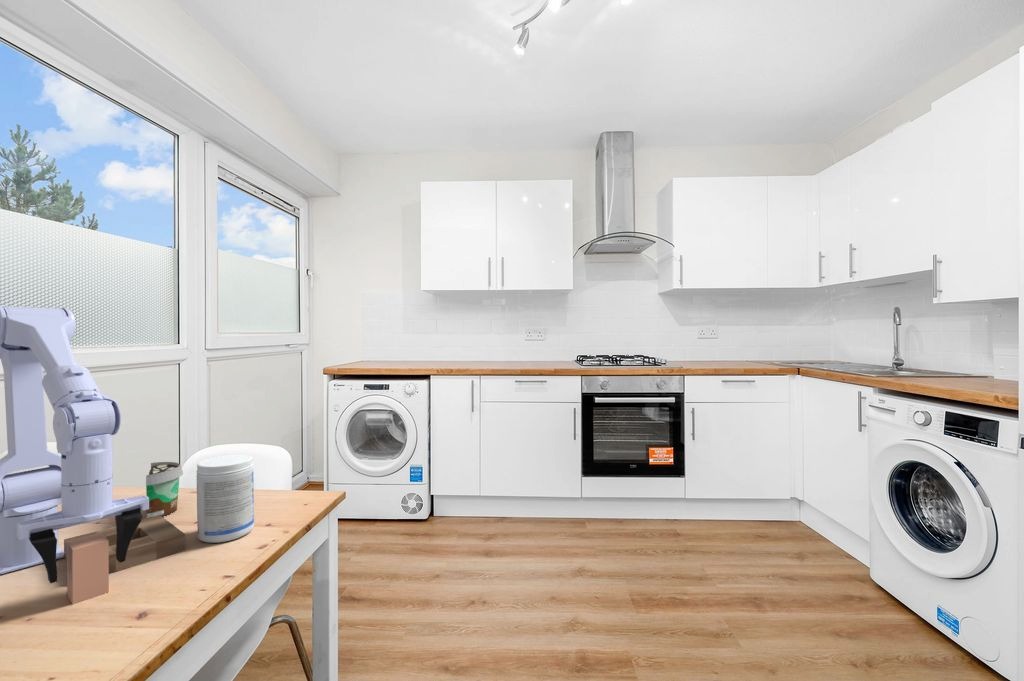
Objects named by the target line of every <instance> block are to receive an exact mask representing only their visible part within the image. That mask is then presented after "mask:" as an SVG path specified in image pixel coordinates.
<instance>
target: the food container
mask: <svg viewBox="0 0 1024 681" xmlns="http://www.w3.org/2000/svg"><path fill="white" fill-rule="evenodd" d="M183 475H184V471H183V467H182V465H181V463H179V462H175V461H158V462H157V461H156V462H151V463H150V470H149V472H148V474H146V476H145V486H146V490H145V491H146V494H145V495H146V496H147V497H149V509H148V510H146V519H147V518H151V517H155V516H159V515H161V516H162V517H163V518H165V517H164V516H166V517H168V516H167V515H169V516H171V515H172V514H171V513H173V512H174V513H176V512H177V510H178V500H179V488H180V477H182V476H183ZM175 511H176V512H175ZM174 513H173V514H174ZM170 514H171V515H170Z"/></svg>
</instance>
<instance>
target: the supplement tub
mask: <svg viewBox="0 0 1024 681" xmlns="http://www.w3.org/2000/svg"><path fill="white" fill-rule="evenodd" d="M196 469H197V470H196V516H197V518H196V519H197V520H196V522H197V523H196V524H197V525H196V526H197V528H196V529H197V538H198V540H200V541H201V542H203V543H209V544H210V543H215V544H216V543H217V544H219V543H224V542H231V541H233V540H236V539H239V538H242V537H243V536H245V535H248V534H249V533H251V531H252V530H253V529H254V526H255V496H254V495H255V494H254V489H255V485H254V484H255V483H254V482H255V481H254V463H253V457H252V456H251V455H248V454H226V455H218V456H214V457H210V458H209V457H208V458H205V459H203V460H201V461H199V462H198V463H197V464H196Z"/></svg>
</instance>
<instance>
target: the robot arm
mask: <svg viewBox="0 0 1024 681" xmlns="http://www.w3.org/2000/svg"><path fill="white" fill-rule="evenodd" d="M75 334H76V319H75V316H74V313H73V312H72V311H71V309H69V308H67V307H60V308H57V307H36V306H34V307H33V306H12V305H10V306H9V305H2V304H0V361H1V365H2V369H3V370H2V371H3V382H4V383H3V384H4V400H5V401H4V402H5V420H6V422H5V423H6V439H7V440H6V442H7V443H6V444H7V454H5V455H4V456H3V457H2V458H0V575H3V574H6V573H7V574H8V573H10V572H14V571H18V570H21V569H25V568H26V569H27V568H30V567H33V566H37V565H39V564H44V566H45V570H46V573H47V574H46V575H47V580H48V582H49V584H54V583H58V567H57V560H58V559H62V558H65V557H64V556H65V554H64V550H63V549H62V548H61V546H60V545H59V536H58V535H59V534H58V533H59V532H58V531H59V530H62V529H66V528H70V527H74V526H80V525H83V524H86V523H91V522H95V521H99V520H100V521H101V520H103V519H109V518H111V517H112V518H113V517H114V518H115V526H116V530H117V543H116V559H117V560H118V561H119V562H120V563H121V562H124V561H125V559H126V554H127V550H128V547H129V544H130V541H131V539H132V537H133V535H134V532H135V531H136V529H137V527H138V525H139V524H140V522H141V520H143V513H142V512H143V511H147V510H148V509H149V497H147V496H146V494H144V495H140V496H134V497H128V498H127V497H126V498H122V499H114V498H113V496H114V495H113V494H114V493H113V492H114V491H113V490H114V485H113V484H114V483H113V482H114V481H113V480H114V478H113V476H114V474H113V472H114V471H113V468H114V467H113V466H114V465H113V464H114V462H113V461H114V460H113V459H114V458H113V454H114V452H113V449H114V448H113V436H114V435H115V436H116V434H117V433H118V432H119V430H120V427H121V421H122V417H121V416H122V415H121V410H120V407H119V405H118V402H117V400H115V398H113V397H109V396H108V394H102V392H101V390H100V388H99V386H98V385H97V383H96V381H95V378H94V377H93V375H92V373H91V371H90V370H89V368H87V367H85V366H83V365H79V364H77V362H76V358H75V355H74V353H73V349H72V347H71V342H72V340H73V338H74V336H75ZM44 371H45V375H44ZM45 395H46V396H47V398H48V400H49V403H50V405H51V407H52V409H53V412H54V414H53V418H52V429H53V434H54V437H55V439H56V440H55V442H56V449H57V452H54V451H51V450H49V449H48V437H47V421H46V420H47V418H46V402H45V400H46V399H45V398H46V397H45ZM44 466H47V467H44ZM36 468H37V469H36ZM27 469H28V470H27ZM29 469H31V470H29ZM24 470H26V471H24ZM19 471H21V472H19ZM13 472H14V473H13ZM59 505H61V507H60V508H61V509H60V510H58V507H59Z"/></svg>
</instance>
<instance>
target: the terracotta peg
mask: <svg viewBox="0 0 1024 681" xmlns="http://www.w3.org/2000/svg"><path fill="white" fill-rule="evenodd" d="M66 567H67V568H66V569H67V570H66V572H67V574H66V575H67V577H66V579H67V580H66V581H67V582H66V584H67V587H66V588H67V591H66V595H67V597H68V599H69V600H70V602H71V604H72V605H77V604H79V603H82V602H84V601H89V600H90V599H93V598H97V597H99V596H103V595H106V594H108V592H109V588H110V587H109V584H110V582H109V575H110V574H109V540H108V539H107V538H106V537H105V536H104V535H103V534H98V535H94V536H90V537H86V538H82V539H78V540H74V541H70V542H67V560H66ZM105 593H106V594H105Z"/></svg>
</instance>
